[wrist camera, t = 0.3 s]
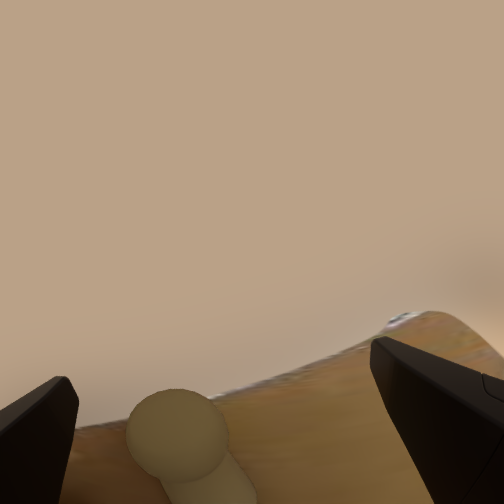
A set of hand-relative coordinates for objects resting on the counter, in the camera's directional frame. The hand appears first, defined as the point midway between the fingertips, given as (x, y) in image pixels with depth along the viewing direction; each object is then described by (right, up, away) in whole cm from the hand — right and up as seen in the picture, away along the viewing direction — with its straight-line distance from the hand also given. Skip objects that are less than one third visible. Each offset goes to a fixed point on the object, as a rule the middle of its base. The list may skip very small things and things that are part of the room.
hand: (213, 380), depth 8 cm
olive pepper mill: (-2, -14, +9) cm, 17 cm away
